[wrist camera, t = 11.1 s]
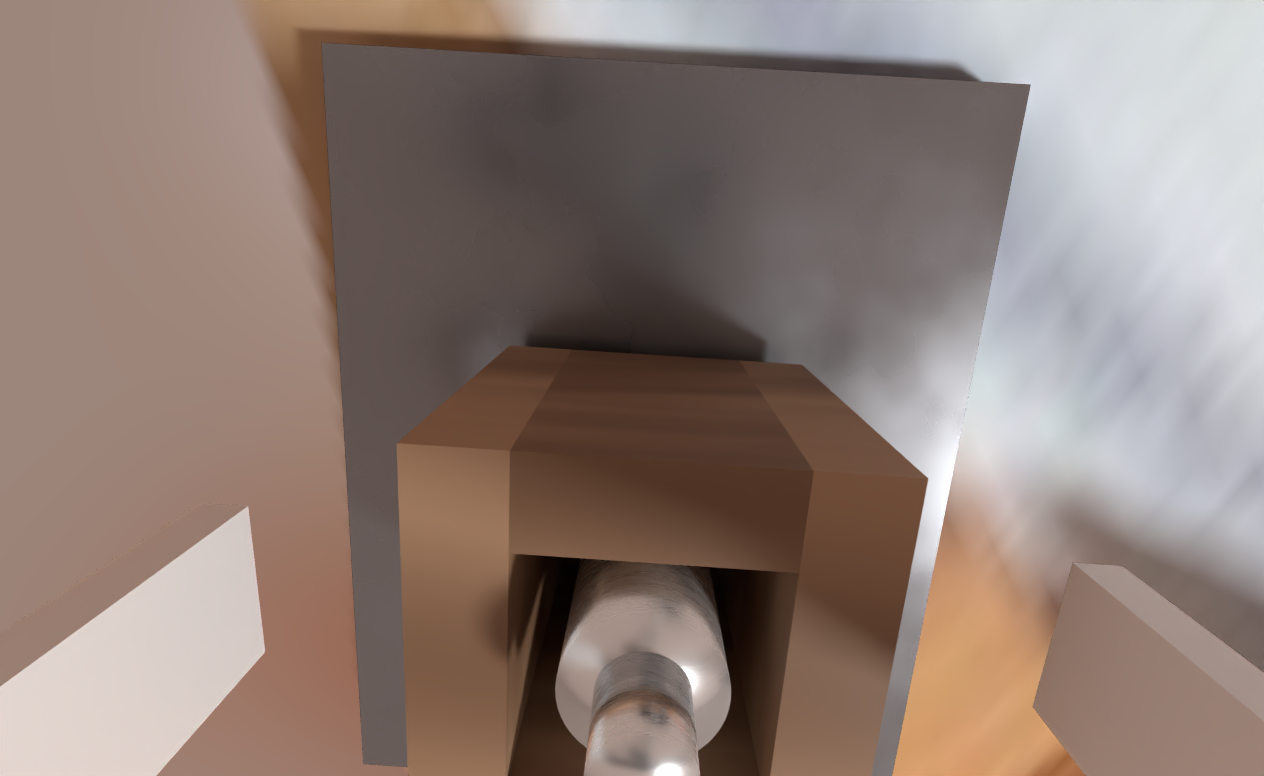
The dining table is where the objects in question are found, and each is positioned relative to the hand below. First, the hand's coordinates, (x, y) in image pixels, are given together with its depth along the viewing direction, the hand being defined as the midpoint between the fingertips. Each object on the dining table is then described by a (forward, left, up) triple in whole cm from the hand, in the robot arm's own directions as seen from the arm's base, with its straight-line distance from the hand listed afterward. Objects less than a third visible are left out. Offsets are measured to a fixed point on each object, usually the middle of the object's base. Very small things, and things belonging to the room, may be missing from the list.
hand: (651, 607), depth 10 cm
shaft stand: (0, 0, -8) cm, 8 cm away
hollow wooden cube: (0, 0, -6) cm, 6 cm away
